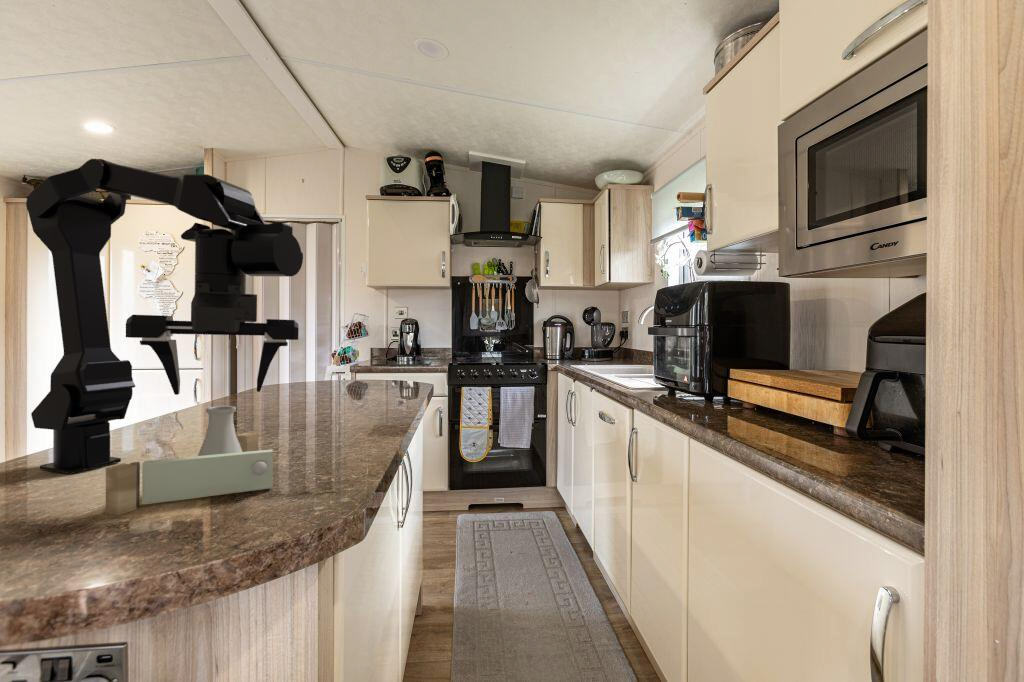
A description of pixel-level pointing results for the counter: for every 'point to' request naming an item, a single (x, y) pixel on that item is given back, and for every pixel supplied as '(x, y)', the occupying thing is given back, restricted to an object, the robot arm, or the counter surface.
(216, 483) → the door
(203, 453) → the flask
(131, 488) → the door frame
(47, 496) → the counter surface
